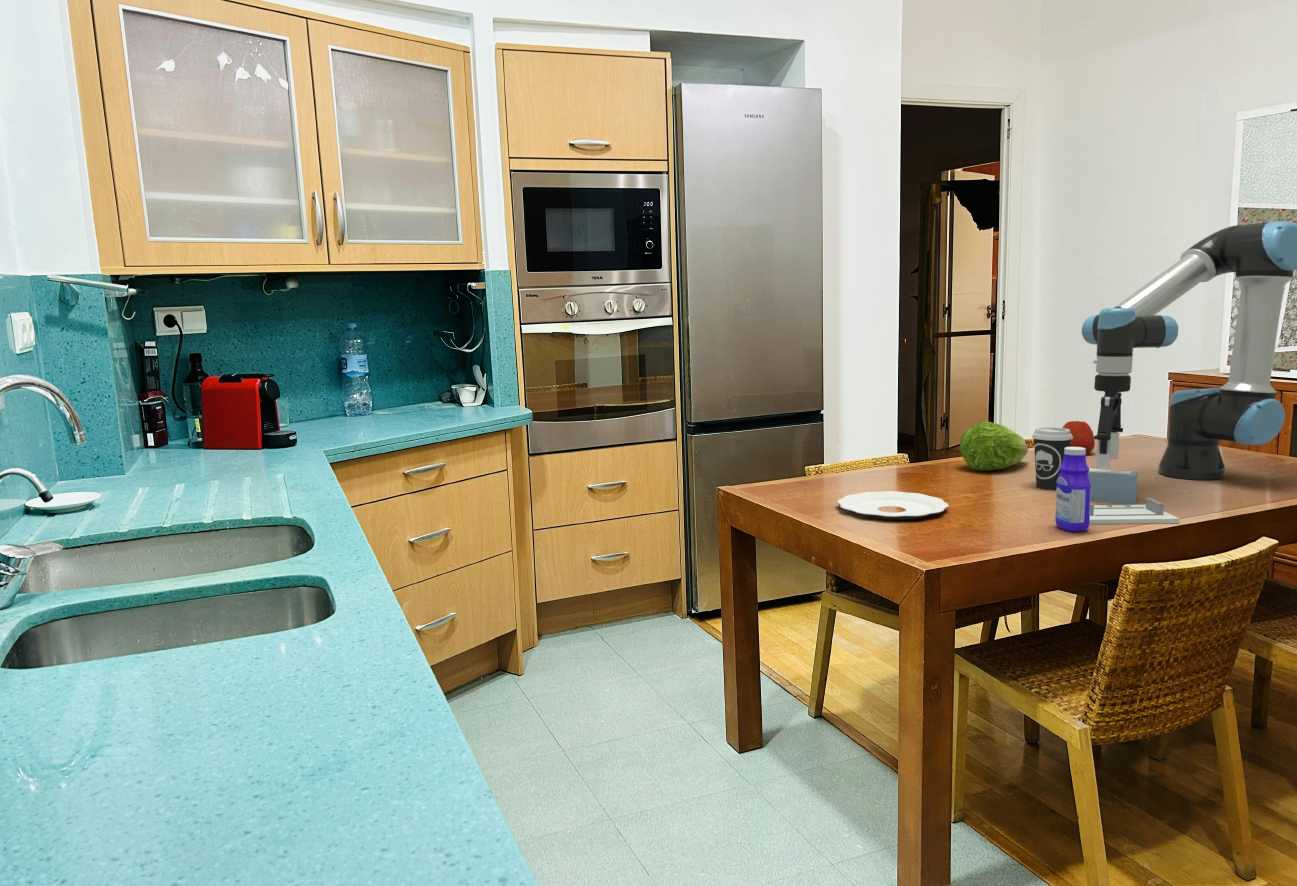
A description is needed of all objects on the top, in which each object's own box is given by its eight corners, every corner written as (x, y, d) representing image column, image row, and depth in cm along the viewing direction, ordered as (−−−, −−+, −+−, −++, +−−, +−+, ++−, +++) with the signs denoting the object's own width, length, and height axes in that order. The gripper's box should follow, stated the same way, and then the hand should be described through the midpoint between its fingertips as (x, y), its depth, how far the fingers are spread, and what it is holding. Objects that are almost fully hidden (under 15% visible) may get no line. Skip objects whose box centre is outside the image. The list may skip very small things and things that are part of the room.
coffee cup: (1075, 491, 220) (1077, 432, 218) (1034, 490, 222) (1036, 432, 220) (1065, 483, 230) (1067, 426, 227) (1026, 483, 231) (1028, 426, 229)
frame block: (1077, 499, 212) (1078, 470, 211) (1080, 495, 216) (1082, 467, 215) (1133, 504, 205) (1135, 474, 204) (1136, 500, 210) (1137, 471, 208)
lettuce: (1055, 443, 251) (1016, 413, 261) (1005, 441, 237) (967, 410, 247) (1027, 482, 258) (991, 452, 268) (977, 483, 244) (941, 451, 254)
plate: (931, 528, 191) (931, 520, 191) (822, 516, 204) (822, 508, 204) (958, 504, 212) (958, 496, 212) (857, 495, 225) (857, 487, 225)
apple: (1062, 456, 266) (1064, 422, 264) (1052, 450, 276) (1054, 417, 274) (1098, 456, 264) (1100, 422, 262) (1087, 450, 274) (1089, 417, 272)
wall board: (1150, 508, 201) (1151, 494, 200) (1179, 523, 188) (1180, 507, 187) (1064, 509, 202) (1064, 495, 202) (1087, 524, 189) (1087, 508, 189)
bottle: (1049, 525, 190) (1052, 445, 187) (1074, 523, 190) (1078, 444, 187) (1068, 533, 183) (1072, 451, 180) (1094, 532, 183) (1098, 450, 180)
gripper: (1103, 370, 218) (1097, 454, 222) (1086, 377, 198) (1080, 469, 201) (1137, 370, 214) (1131, 456, 217) (1123, 378, 194) (1117, 473, 197)
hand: (1107, 463), depth 209 cm, fingers open, 13 cm apart
